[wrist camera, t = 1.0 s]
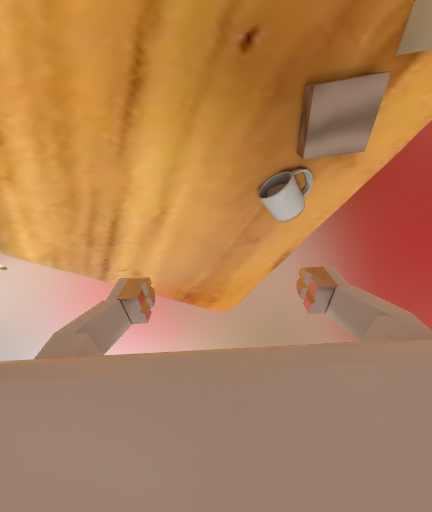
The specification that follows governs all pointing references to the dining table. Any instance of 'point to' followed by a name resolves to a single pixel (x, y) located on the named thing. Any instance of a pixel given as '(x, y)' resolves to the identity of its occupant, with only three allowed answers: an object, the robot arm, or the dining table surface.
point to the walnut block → (340, 115)
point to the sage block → (417, 29)
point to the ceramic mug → (285, 195)
